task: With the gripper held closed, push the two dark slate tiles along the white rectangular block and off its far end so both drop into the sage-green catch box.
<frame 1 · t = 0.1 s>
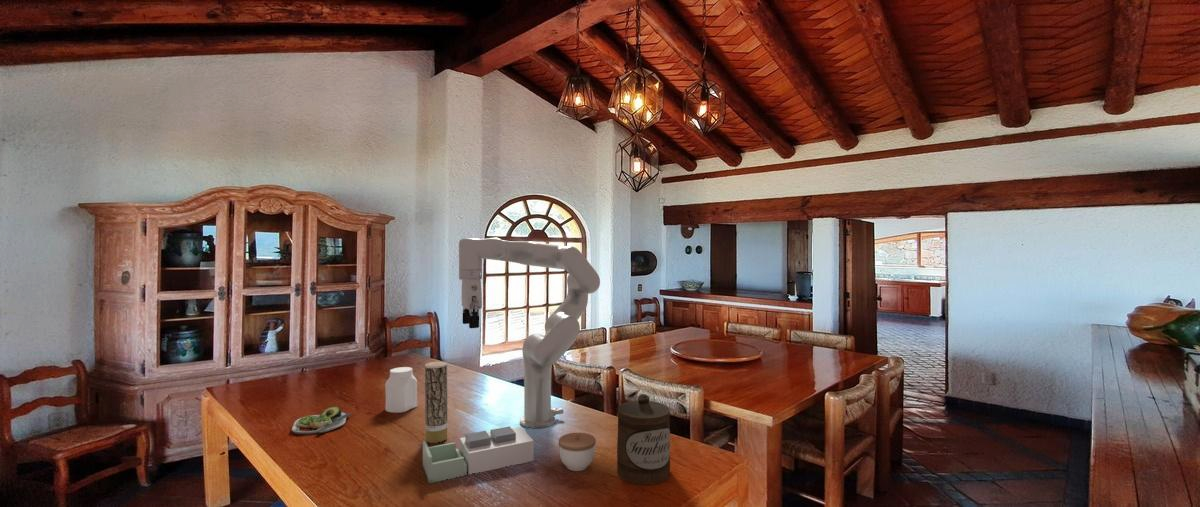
hand: (470, 325, 162), 37 cm above the table, tool pointing down, fingers open, 9 cm apart
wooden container: (643, 473, 136), on the table
lidded jar: (577, 466, 139), on the table
slate tile back: (503, 438, 144), point 6 cm above the table, touching white rectangular block
catch box: (444, 470, 136), on the table
white rectangular block: (496, 459, 143), on the table
slate tile front: (477, 442, 141), point 6 cm above the table, touching white rectangular block
avocado toast plate: (321, 426, 171), on the table
bark-textured canister: (436, 440, 157), on the table
jar: (401, 408, 189), on the table
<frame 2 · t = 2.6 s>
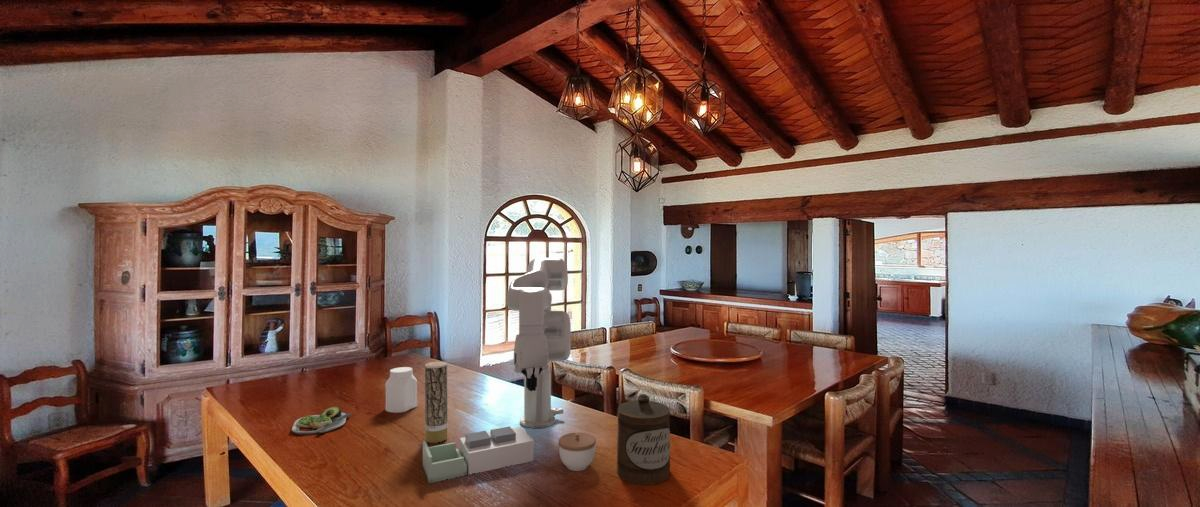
hand: (531, 389, 148), 19 cm above the table, tool pointing down, fingers closed
nothing on the table moved.
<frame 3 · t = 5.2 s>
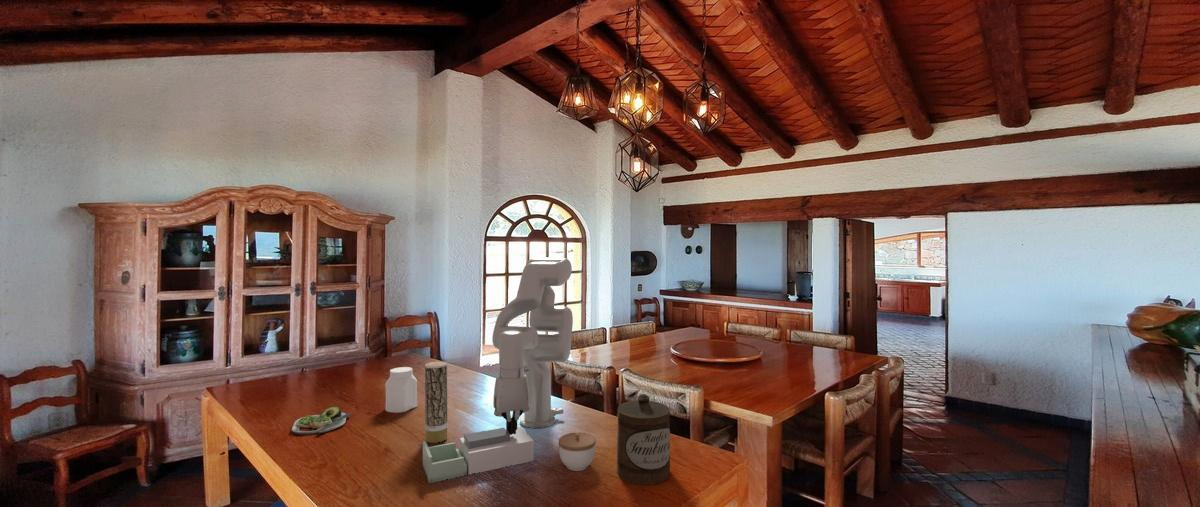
hand: (511, 432, 145), 7 cm above the table, tool pointing down, fingers closed
slate tile back: (497, 439, 143), point 6 cm above the table, touching white rectangular block, gripper
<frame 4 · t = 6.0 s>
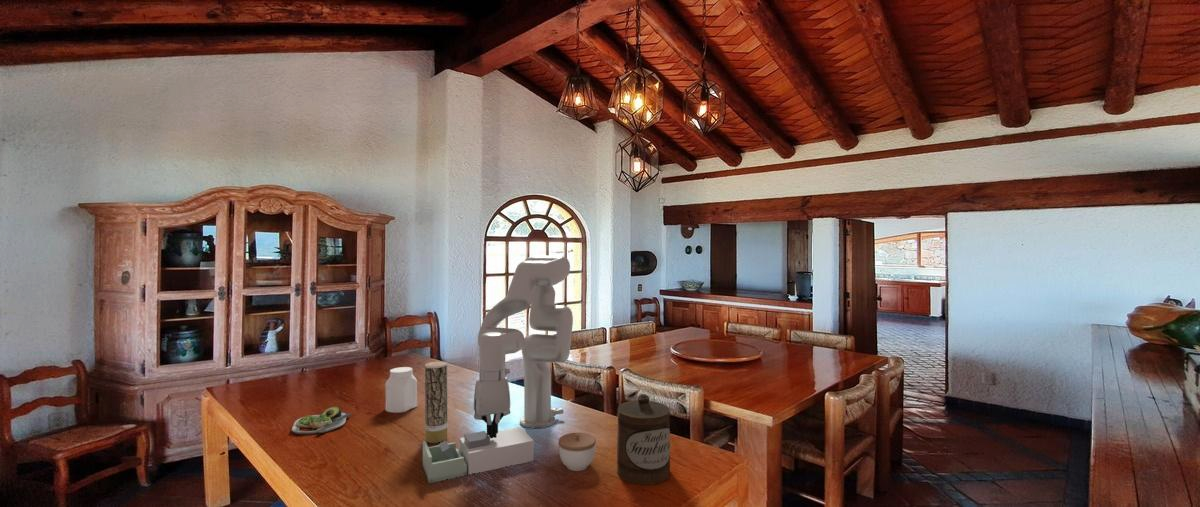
hand: (492, 436, 143), 7 cm above the table, tool pointing down, fingers closed
slate tile back: (477, 443, 141), point 6 cm above the table, touching white rectangular block, gripper
slate tile front: (451, 452, 137), point 5 cm above the table, tilted 112°, touching catch box
everything else where it was.
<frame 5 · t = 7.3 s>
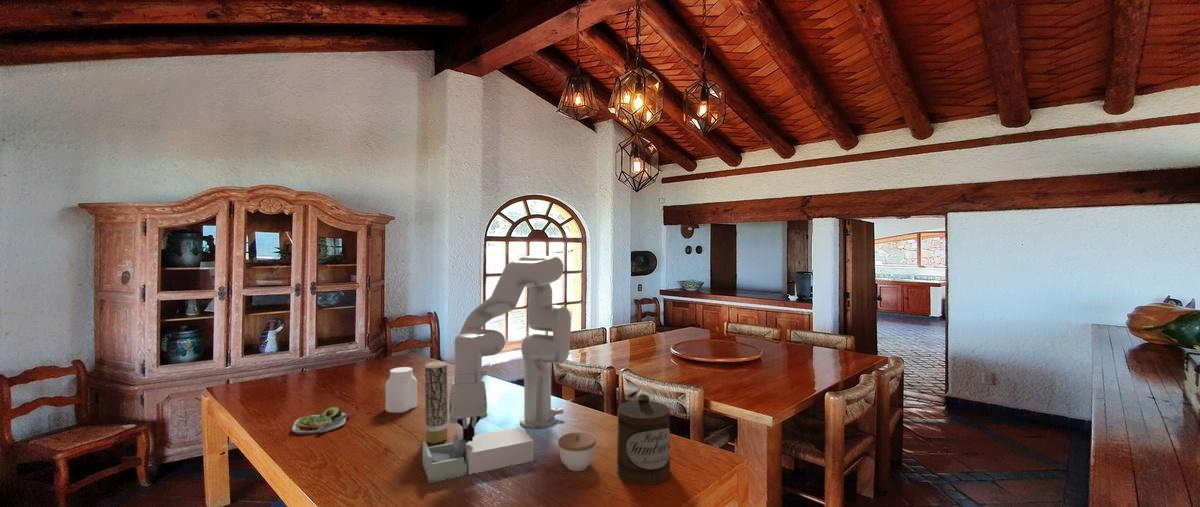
hand: (468, 440, 139), 7 cm above the table, tool pointing down, fingers closed
slate tile back: (461, 448, 139), point 5 cm above the table, tilted 70°, touching gripper, slate tile front
slate tile front: (441, 457, 136), point 4 cm above the table, tilted 162°, touching catch box, slate tile back
everything else where it was.
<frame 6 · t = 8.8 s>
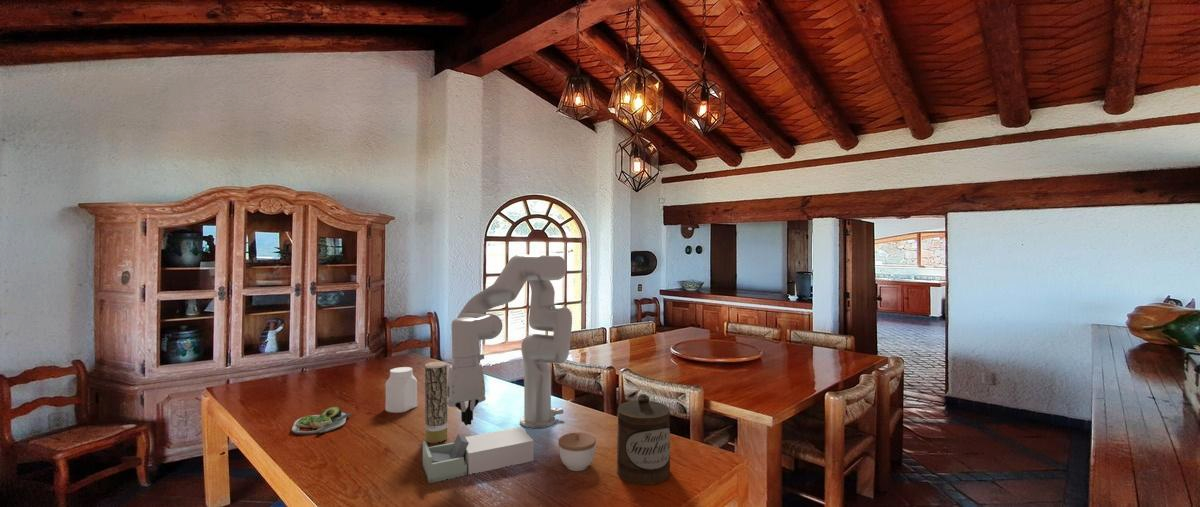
hand: (467, 423, 140), 12 cm above the table, tool pointing down, fingers closed
slate tile back: (461, 449, 139), point 5 cm above the table, tilted 64°, touching white rectangular block, slate tile front
everything else where it was.
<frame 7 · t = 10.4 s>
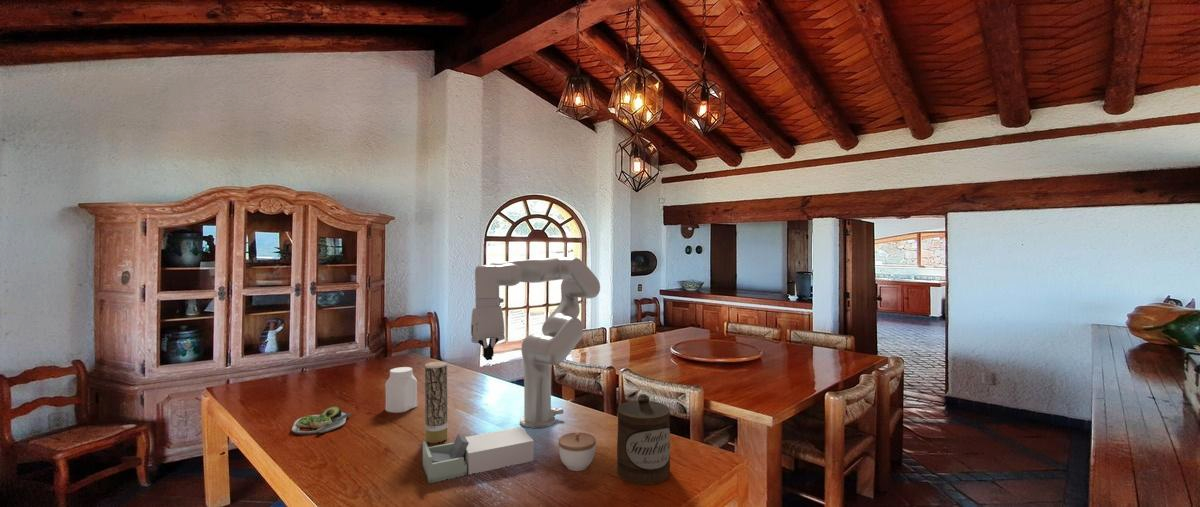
hand: (488, 359, 157), 27 cm above the table, tool pointing down, fingers closed
nothing on the table moved.
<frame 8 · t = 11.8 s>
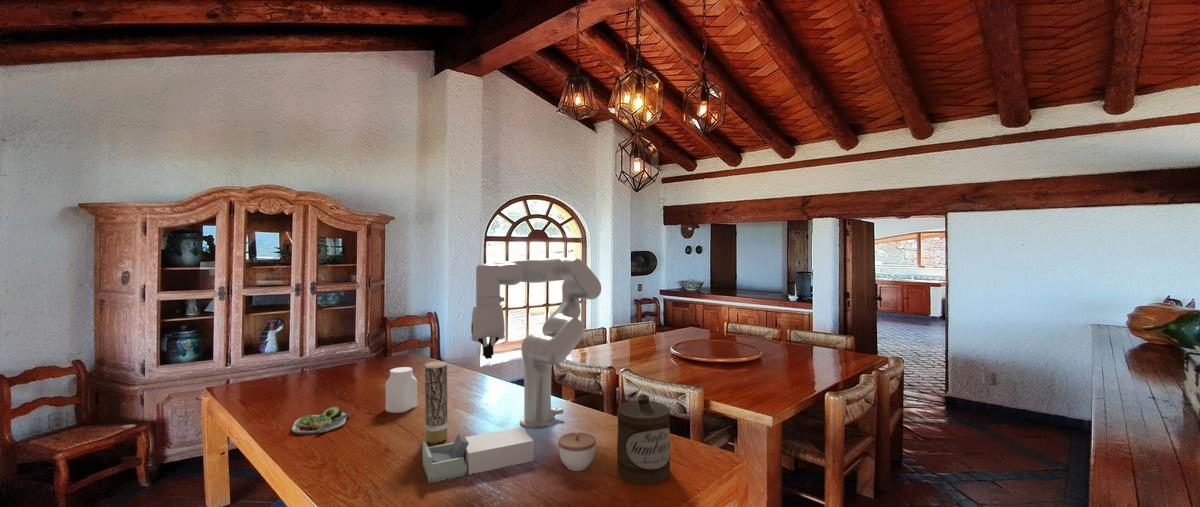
hand: (488, 357, 157), 27 cm above the table, tool pointing down, fingers closed
nothing on the table moved.
at the end: slate tile front inside the target area (0.6 cm from its centre), point 3.8 cm above the table; slate tile back inside the target area (5.2 cm from its centre), point 4.9 cm above the table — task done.
